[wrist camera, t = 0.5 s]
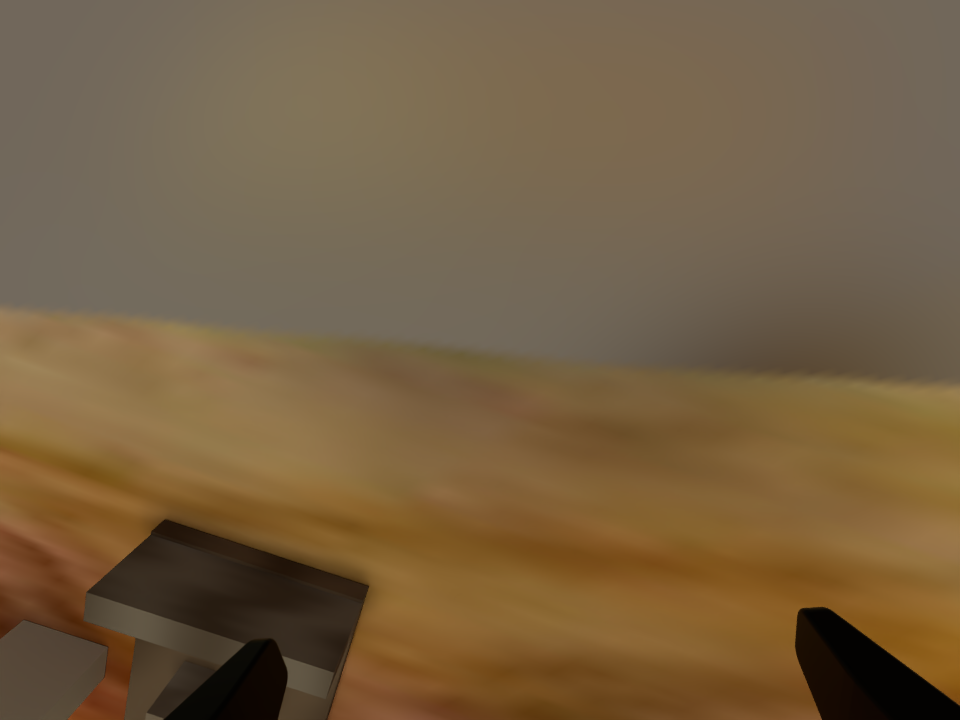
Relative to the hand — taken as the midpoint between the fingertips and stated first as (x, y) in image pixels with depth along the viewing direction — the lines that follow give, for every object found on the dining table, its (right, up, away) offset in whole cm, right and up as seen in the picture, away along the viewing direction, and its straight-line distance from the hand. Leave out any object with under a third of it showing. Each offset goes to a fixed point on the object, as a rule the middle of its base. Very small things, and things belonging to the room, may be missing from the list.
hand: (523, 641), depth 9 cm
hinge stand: (-15, -15, +21) cm, 30 cm away
